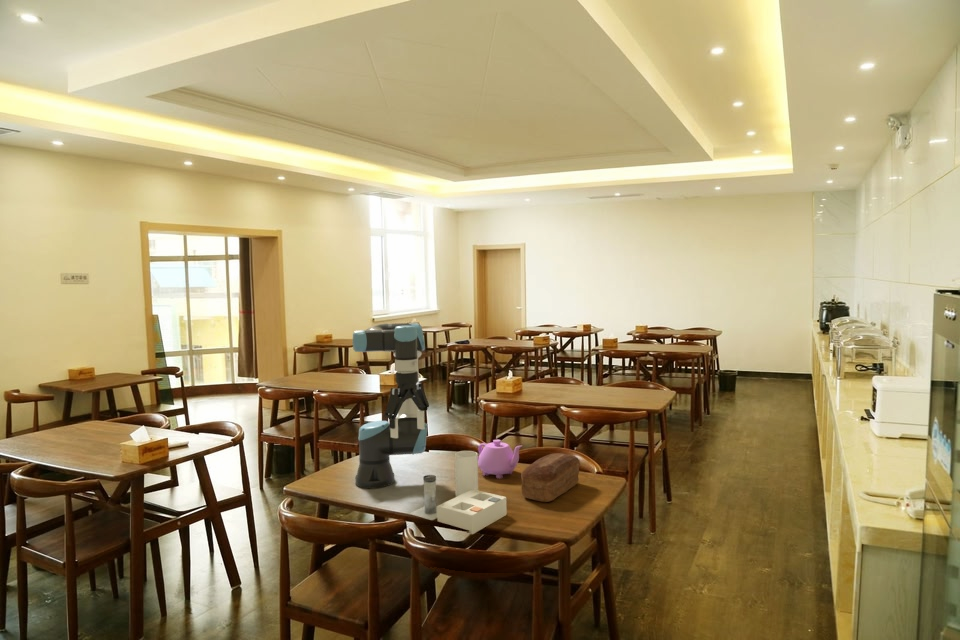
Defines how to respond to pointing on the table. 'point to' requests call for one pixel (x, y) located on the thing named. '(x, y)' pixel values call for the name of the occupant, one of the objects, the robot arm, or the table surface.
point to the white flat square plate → (421, 514)
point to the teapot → (497, 458)
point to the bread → (550, 477)
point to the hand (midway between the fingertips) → (408, 433)
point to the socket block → (472, 510)
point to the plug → (429, 494)
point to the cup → (466, 471)
